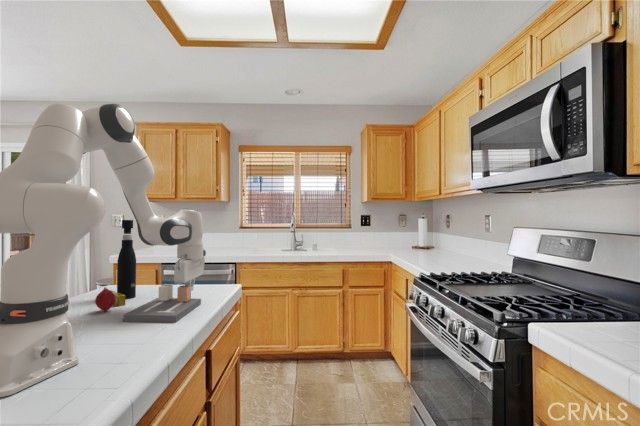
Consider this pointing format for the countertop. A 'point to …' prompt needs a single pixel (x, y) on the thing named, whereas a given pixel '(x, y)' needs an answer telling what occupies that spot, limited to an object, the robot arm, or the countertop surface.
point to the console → (161, 311)
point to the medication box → (119, 298)
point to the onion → (105, 299)
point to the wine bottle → (127, 264)
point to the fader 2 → (184, 293)
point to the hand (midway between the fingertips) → (189, 291)
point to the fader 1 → (165, 292)
